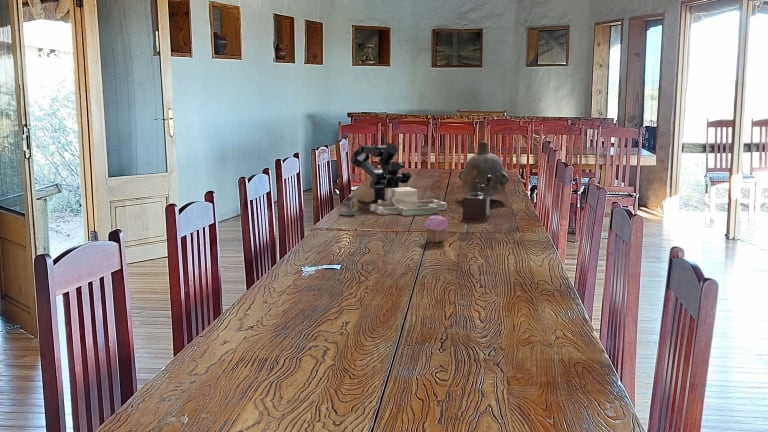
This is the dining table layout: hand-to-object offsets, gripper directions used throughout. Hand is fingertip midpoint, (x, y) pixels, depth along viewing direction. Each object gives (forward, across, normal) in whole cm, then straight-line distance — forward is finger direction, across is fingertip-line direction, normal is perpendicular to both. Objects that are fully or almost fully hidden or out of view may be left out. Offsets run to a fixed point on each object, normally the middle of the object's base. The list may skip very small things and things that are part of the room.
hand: (397, 192), depth 363 cm
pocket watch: (+12, -30, -2) cm, 33 cm away
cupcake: (+58, -24, -48) cm, 79 cm away
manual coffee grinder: (+32, +21, -21) cm, 43 cm away
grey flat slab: (+12, 0, -2) cm, 12 cm away
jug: (+6, +48, +4) cm, 48 cm away
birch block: (+8, 0, +2) cm, 8 cm away
